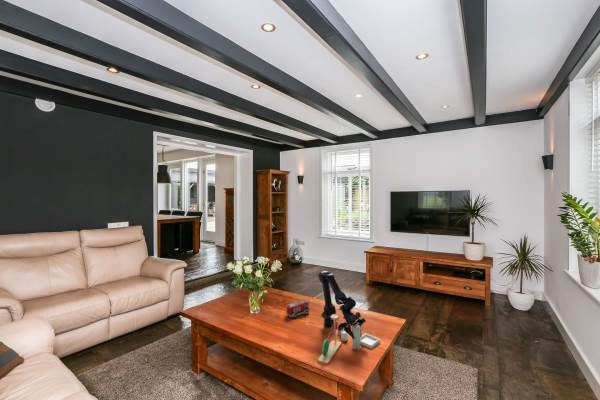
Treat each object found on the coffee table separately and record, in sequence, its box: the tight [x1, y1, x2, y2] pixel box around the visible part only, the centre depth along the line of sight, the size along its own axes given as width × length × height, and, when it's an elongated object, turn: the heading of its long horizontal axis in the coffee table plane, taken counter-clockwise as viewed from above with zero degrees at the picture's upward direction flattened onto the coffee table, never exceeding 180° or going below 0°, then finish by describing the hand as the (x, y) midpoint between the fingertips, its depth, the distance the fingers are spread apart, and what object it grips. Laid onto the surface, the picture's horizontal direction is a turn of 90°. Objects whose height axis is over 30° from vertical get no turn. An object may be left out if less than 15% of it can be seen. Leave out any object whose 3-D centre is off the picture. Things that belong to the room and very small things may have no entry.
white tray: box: [360, 333, 381, 349], centre depth 186 cm, size 11×11×2 cm
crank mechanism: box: [317, 314, 342, 366], centre depth 174 cm, size 25×7×19 cm, turn 153°
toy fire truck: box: [285, 298, 311, 319], centre depth 229 cm, size 9×19×10 cm, turn 123°
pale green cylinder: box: [351, 325, 361, 350], centre depth 179 cm, size 5×5×13 cm
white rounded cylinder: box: [340, 331, 349, 342], centre depth 190 cm, size 4×4×4 cm
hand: (357, 337), depth 178 cm, fingers closed on pale green cylinder, 5 cm apart
